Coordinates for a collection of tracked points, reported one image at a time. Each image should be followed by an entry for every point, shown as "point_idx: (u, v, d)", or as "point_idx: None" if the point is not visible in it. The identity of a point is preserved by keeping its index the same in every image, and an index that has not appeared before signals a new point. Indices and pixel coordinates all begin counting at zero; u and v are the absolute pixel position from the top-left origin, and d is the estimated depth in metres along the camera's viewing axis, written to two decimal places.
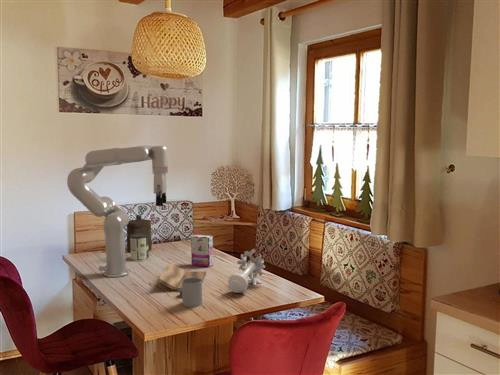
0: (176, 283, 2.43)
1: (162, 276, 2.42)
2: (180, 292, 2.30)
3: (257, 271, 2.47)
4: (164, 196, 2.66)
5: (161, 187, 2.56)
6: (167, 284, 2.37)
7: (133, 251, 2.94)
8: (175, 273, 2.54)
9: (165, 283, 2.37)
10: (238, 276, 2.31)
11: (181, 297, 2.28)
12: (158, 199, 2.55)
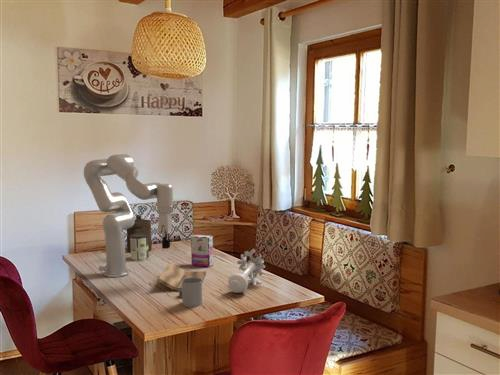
0: (176, 283, 2.43)
1: (162, 276, 2.42)
2: (181, 293, 2.29)
3: (257, 271, 2.47)
4: (168, 240, 2.51)
5: (166, 232, 2.45)
6: (167, 284, 2.37)
7: (133, 251, 2.94)
8: (175, 273, 2.54)
9: (165, 283, 2.37)
10: (238, 276, 2.31)
11: None
12: (164, 241, 2.47)
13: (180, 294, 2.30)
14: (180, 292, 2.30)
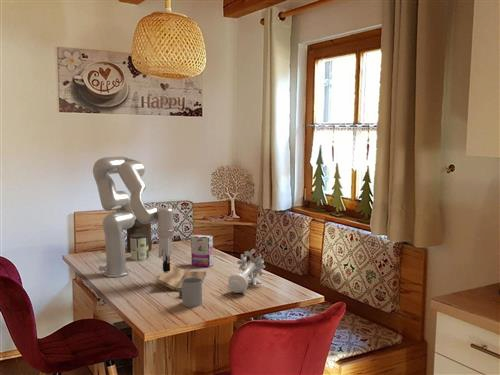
0: (176, 283, 2.43)
1: (162, 277, 2.42)
2: (181, 293, 2.28)
3: (257, 271, 2.47)
4: None
5: (167, 256, 2.46)
6: (167, 284, 2.37)
7: (133, 251, 2.94)
8: (175, 273, 2.54)
9: (165, 283, 2.37)
10: (238, 276, 2.31)
11: None
12: (165, 264, 2.49)
13: (181, 294, 2.29)
14: (181, 292, 2.29)
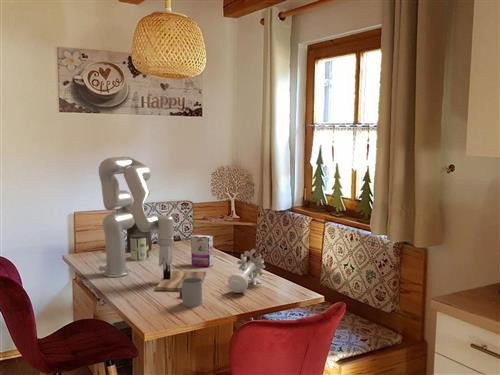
0: (176, 284, 2.43)
1: (160, 284, 2.42)
2: None
3: (257, 271, 2.47)
4: None
5: None
6: (167, 288, 2.38)
7: (133, 251, 2.94)
8: (174, 277, 2.55)
9: (164, 288, 2.38)
10: (238, 276, 2.31)
11: None
12: (165, 273, 2.50)
13: (181, 295, 2.29)
14: (181, 293, 2.28)
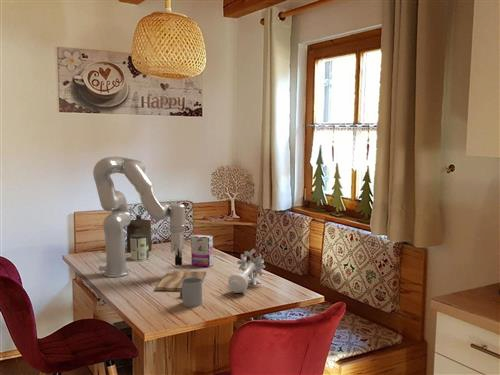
0: (176, 284, 2.43)
1: (160, 284, 2.42)
2: None
3: (257, 271, 2.47)
4: None
5: (179, 250, 2.56)
6: (167, 288, 2.38)
7: (133, 251, 2.94)
8: (174, 277, 2.55)
9: (164, 288, 2.38)
10: (238, 276, 2.31)
11: None
12: (177, 258, 2.59)
13: None
14: None
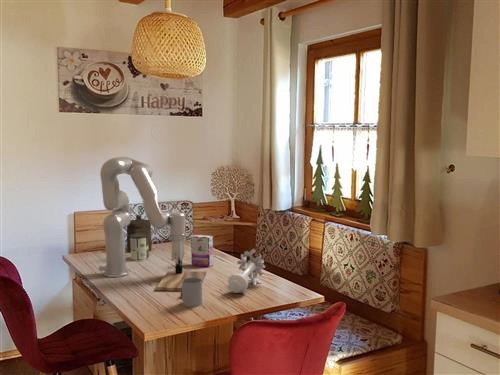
0: (176, 284, 2.43)
1: (160, 284, 2.42)
2: None
3: (257, 271, 2.47)
4: None
5: (179, 259, 2.56)
6: (167, 288, 2.38)
7: (133, 251, 2.94)
8: (174, 277, 2.55)
9: (164, 288, 2.38)
10: (238, 276, 2.31)
11: None
12: (178, 267, 2.60)
13: None
14: None
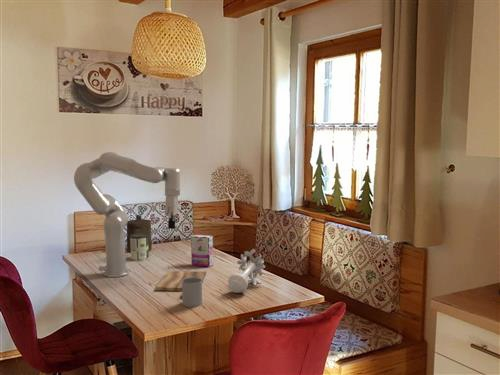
0: (176, 284, 2.43)
1: (160, 284, 2.42)
2: None
3: (257, 271, 2.47)
4: None
5: (172, 214, 2.59)
6: (167, 288, 2.38)
7: (133, 251, 2.94)
8: (174, 277, 2.55)
9: (164, 288, 2.38)
10: (238, 276, 2.31)
11: None
12: (170, 222, 2.62)
13: None
14: None
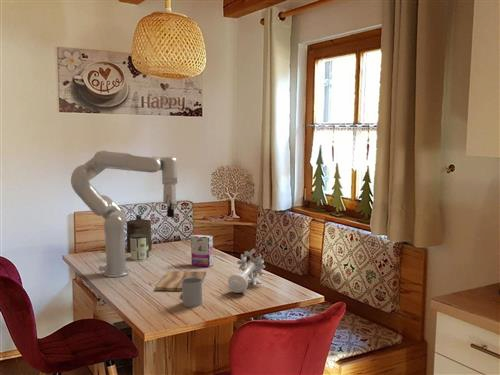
0: (176, 284, 2.43)
1: (160, 284, 2.42)
2: None
3: (257, 271, 2.47)
4: None
5: (171, 202, 2.61)
6: (167, 288, 2.38)
7: (133, 251, 2.94)
8: (174, 277, 2.55)
9: (164, 288, 2.38)
10: (238, 276, 2.31)
11: None
12: (169, 210, 2.65)
13: None
14: None
